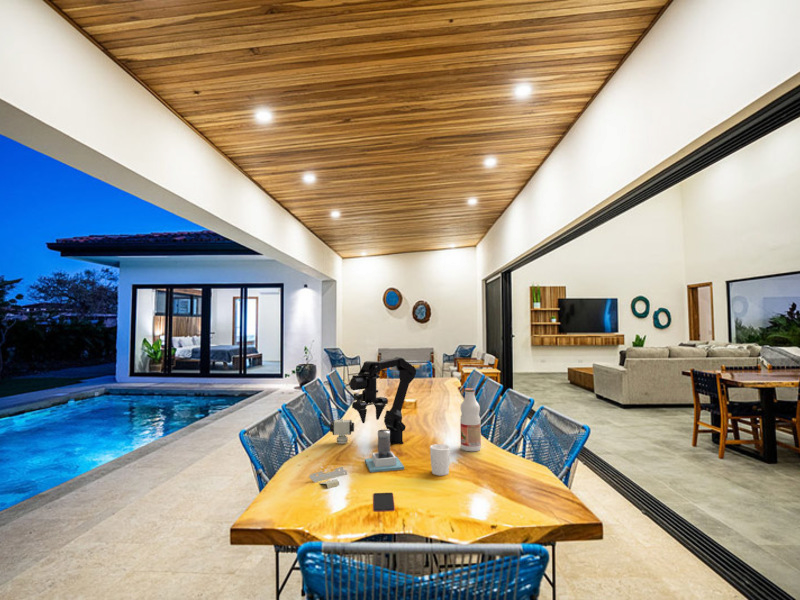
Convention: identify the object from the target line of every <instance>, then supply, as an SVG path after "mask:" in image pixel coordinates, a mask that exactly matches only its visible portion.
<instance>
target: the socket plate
mask: <svg viewBox="0 0 800 600" xmlns="http://www.w3.org/2000/svg"><path fill="white" fill-rule="evenodd" d="M371 455H372V456H371V458H369V457H368V458H364V462H365V465H366V466H367V469H368V470H369V472H370V473H377V472H380V471H381V472H389V471H391V470H392V471H400V470H401V471H402V470H405V466H404V464H403V463H402V461H401V460H400V459H399V458H398V456H397V455H395V454H394V452H393V451H390V458H380V459H378V452H372V454H371Z"/></svg>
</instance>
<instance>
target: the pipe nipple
mask: <svg viewBox="0 0 800 600" xmlns="http://www.w3.org/2000/svg"><path fill="white" fill-rule="evenodd" d="M390 452H391V444H390V430H389V429H379V430H378V431H377V453H378V459H380V458H390Z"/></svg>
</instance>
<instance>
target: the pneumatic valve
mask: <svg viewBox="0 0 800 600" xmlns="http://www.w3.org/2000/svg"><path fill="white" fill-rule="evenodd" d="M329 432H330V433H332V435H333V436H337V437H336V443H337V444H338V445H346V443H348V438H349V437H347V436H350V435H352V433H354V432H355V422H353V421H352V419H344V418H341V419H333V421H332V422H330V423H329Z"/></svg>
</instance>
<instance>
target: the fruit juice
mask: <svg viewBox="0 0 800 600" xmlns="http://www.w3.org/2000/svg"><path fill="white" fill-rule="evenodd" d="M464 393H465V395H464V399H463V401H462V402H461V404H460V412H461V415H460V419H459V420H460V421H459V422H460V425H459V427H460V428H459V429H460V449H461V450H462V451H464V452H465V451H466V452H478V451H481V449H482V441H481V440H482V437H481V436H482V431H481V417H480V411H481V406H480V404H479V402H478V401H477V399H476V396H475V393H476V389H475V388H471V387H466V388H464Z"/></svg>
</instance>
